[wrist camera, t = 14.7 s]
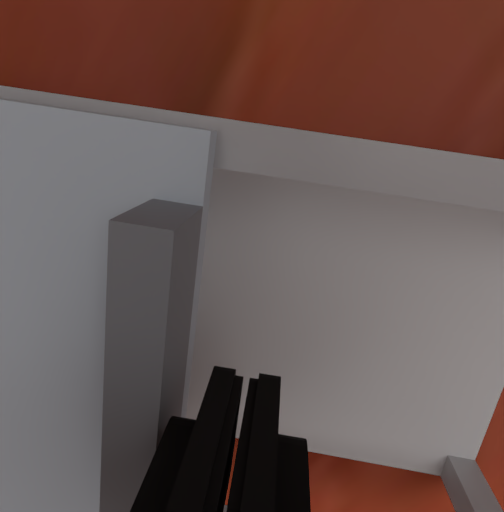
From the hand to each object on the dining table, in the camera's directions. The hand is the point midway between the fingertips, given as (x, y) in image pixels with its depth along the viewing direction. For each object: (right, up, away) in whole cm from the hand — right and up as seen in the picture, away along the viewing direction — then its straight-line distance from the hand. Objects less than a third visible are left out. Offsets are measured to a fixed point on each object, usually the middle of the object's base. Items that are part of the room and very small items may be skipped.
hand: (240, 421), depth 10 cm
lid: (-6, +2, +2) cm, 7 cm away
